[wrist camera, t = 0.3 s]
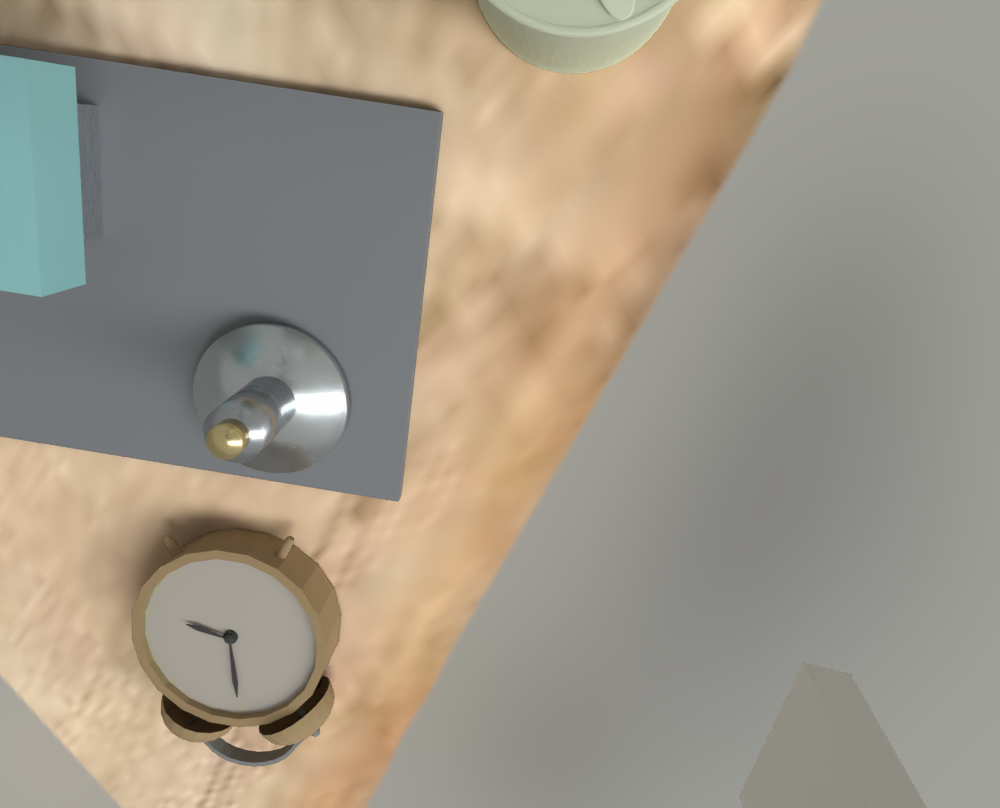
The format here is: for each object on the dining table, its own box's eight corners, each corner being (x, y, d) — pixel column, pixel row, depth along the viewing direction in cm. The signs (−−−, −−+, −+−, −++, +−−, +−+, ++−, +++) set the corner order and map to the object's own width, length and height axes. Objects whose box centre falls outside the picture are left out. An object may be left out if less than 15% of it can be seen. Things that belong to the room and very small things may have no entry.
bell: (202, 309, 37) (132, 342, 31) (357, 334, 37) (317, 372, 31) (201, 452, 40) (137, 508, 34) (345, 476, 40) (307, 536, 34)
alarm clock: (317, 546, 39) (331, 799, 41) (343, 517, 44) (354, 745, 46) (116, 543, 40) (141, 791, 42) (163, 515, 45) (184, 739, 47)
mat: (-101, 29, 34) (-116, 26, 34) (443, 112, 34) (440, 112, 33) (-53, 420, 41) (-65, 425, 40) (401, 495, 41) (398, 501, 40)
